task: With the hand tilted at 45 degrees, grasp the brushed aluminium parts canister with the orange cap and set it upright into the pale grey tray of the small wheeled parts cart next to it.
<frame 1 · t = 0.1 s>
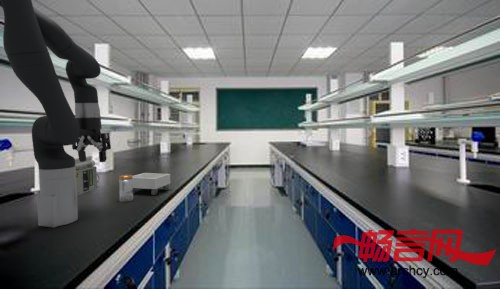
hand: (92, 161, 94), 17 cm above the table, tool pointing down, fingers open, 8 cm apart
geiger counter: (83, 192, 121), on the table
canister: (126, 200, 107), on the table
parts cart: (149, 191, 120), on the table
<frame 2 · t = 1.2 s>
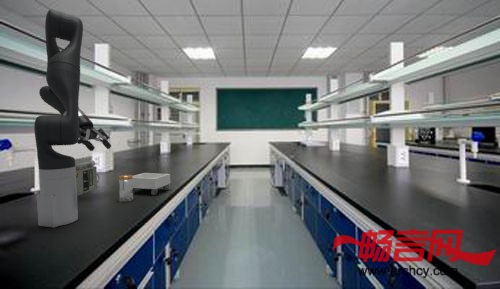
hand: (101, 148, 109), 21 cm above the table, tool tilted 45°, fingers open, 8 cm apart
nothing on the table moved.
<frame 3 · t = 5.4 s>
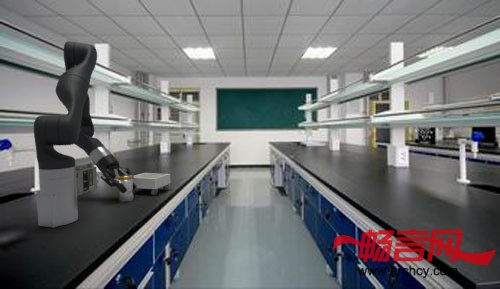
hand: (130, 190, 106), 4 cm above the table, tool tilted 45°, fingers closed on canister, 5 cm apart
canister: (126, 200, 107), on the table, touching gripper
everything else where it was.
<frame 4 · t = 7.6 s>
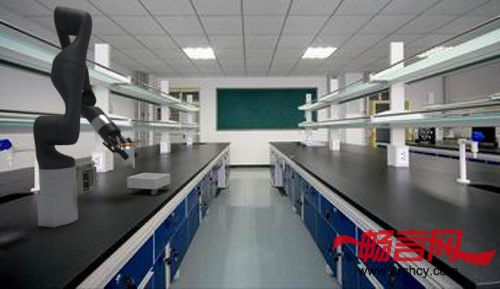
hand: (131, 157, 107), 17 cm above the table, tool tilted 45°, fingers closed on canister, 5 cm apart
canister: (128, 167, 108), point 13 cm above the table, touching gripper
everything else where it was.
when the fingers open (11 cm above the table, at t = 10.0 s): canister drops 2 cm, resting on parts cart.
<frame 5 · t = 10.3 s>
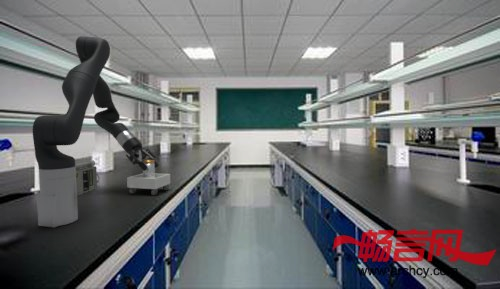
hand: (151, 167, 119), 11 cm above the table, tool tilted 45°, fingers open, 8 cm apart
canister: (149, 182, 120), point 5 cm above the table, touching parts cart
everything else where it was.
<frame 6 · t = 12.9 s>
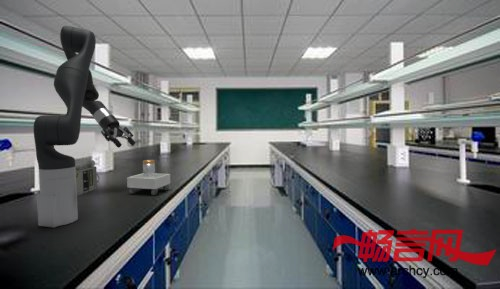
hand: (127, 145, 121), 21 cm above the table, tool tilted 45°, fingers open, 8 cm apart
nothing on the table moved.
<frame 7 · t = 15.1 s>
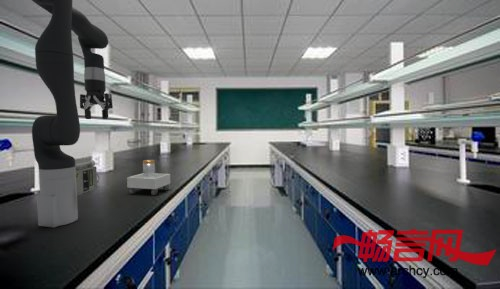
hand: (96, 119, 110), 33 cm above the table, tool pointing down, fingers open, 8 cm apart
nothing on the table moved.
at the end: canister inside the target area on the parts cart (0.1 cm from its centre), point 4.5 cm above the parts cart's base; canister tilted 0°; the gripper is holding nothing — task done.
